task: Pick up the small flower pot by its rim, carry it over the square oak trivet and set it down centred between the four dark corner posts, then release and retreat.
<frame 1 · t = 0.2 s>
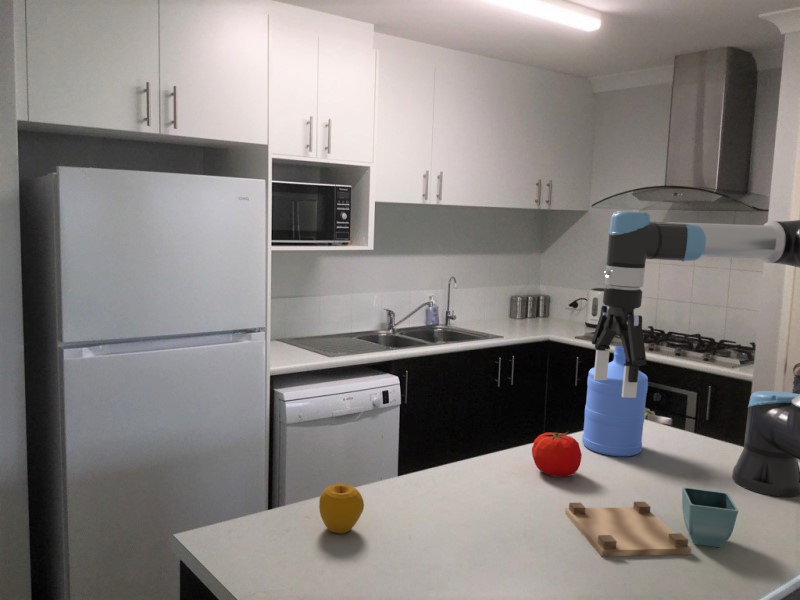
hand: (613, 388, 146), 27 cm above the kitchen island, fingers open, 13 cm apart
flower pot: (704, 541, 139), on the kitchen island
trivet: (624, 532, 141), on the kitchen island
apple: (340, 530, 136), on the kitchen island
tomato: (554, 474, 171), on the kitchen island
water jug: (611, 448, 192), on the kitchen island
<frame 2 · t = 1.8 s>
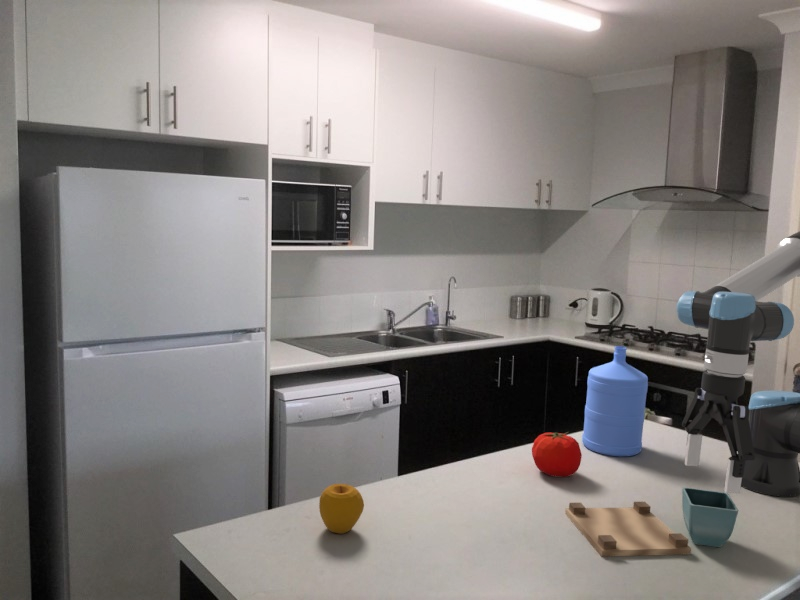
hand: (710, 478, 137), 13 cm above the kitchen island, fingers open, 13 cm apart
nothing on the kitchen island moved.
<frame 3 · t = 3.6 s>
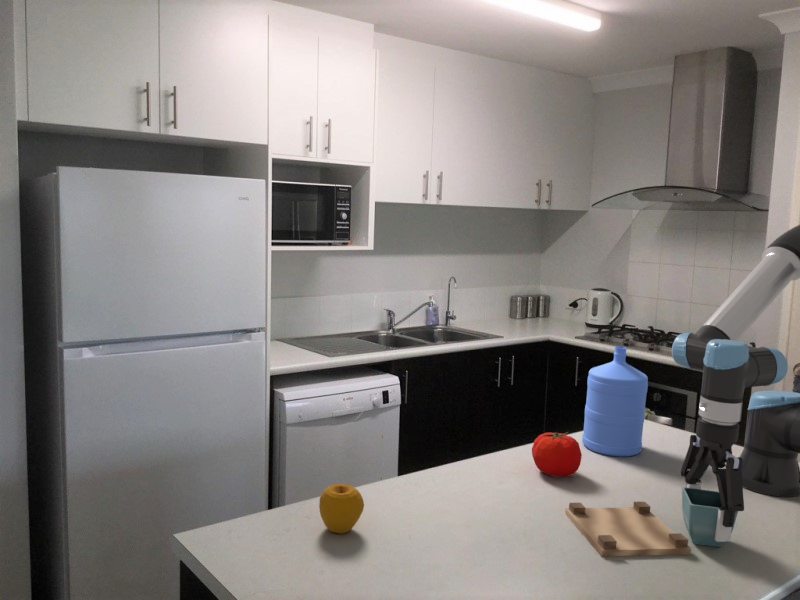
hand: (705, 527, 139), 3 cm above the kitchen island, fingers closed on flower pot, 10 cm apart
flower pot: (704, 541, 139), on the kitchen island, touching gripper
everything else where it was.
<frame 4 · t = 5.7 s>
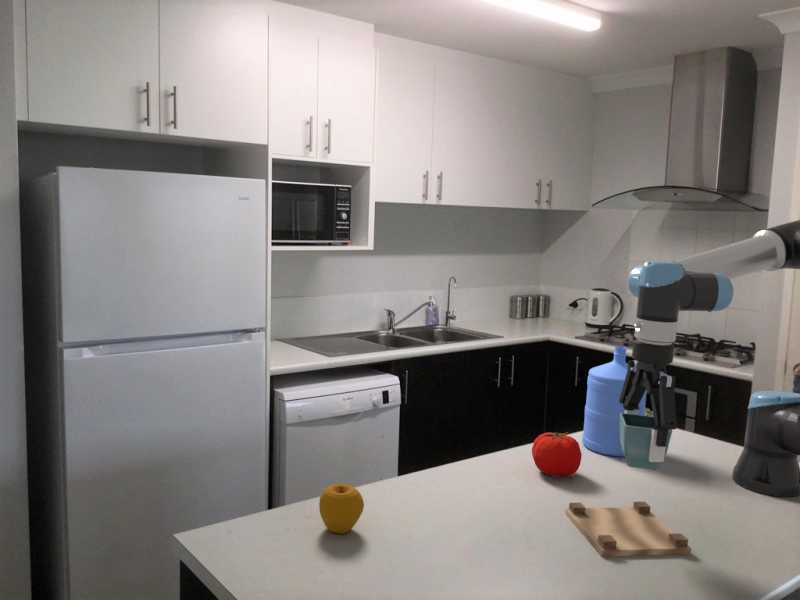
hand: (641, 451, 138), 17 cm above the kitchen island, fingers closed on flower pot, 10 cm apart
flower pot: (640, 465, 138), point 14 cm above the kitchen island, touching gripper
everything else where it was.
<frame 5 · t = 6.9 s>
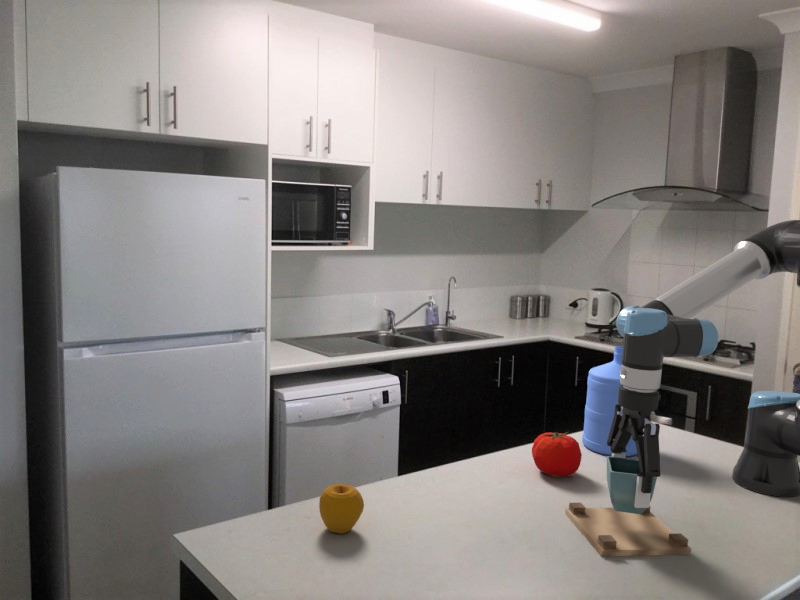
hand: (628, 495, 140), 8 cm above the kitchen island, fingers closed on flower pot, 10 cm apart
flower pot: (626, 509, 140), point 5 cm above the kitchen island, touching gripper
everything else where it was.
when the fingers open (5 cm above the kitchen island, at t = 8.1 s): flower pot stays where it is, resting on trivet.
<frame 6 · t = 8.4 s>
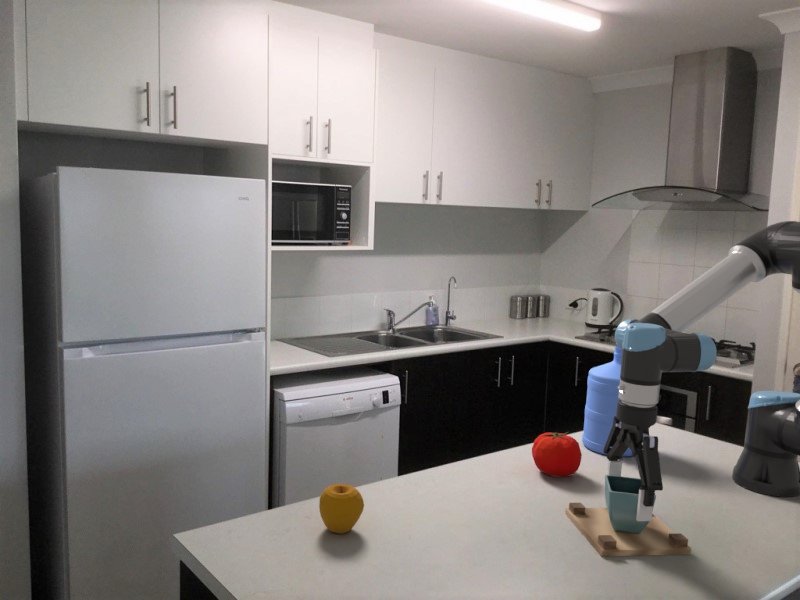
hand: (627, 505, 140), 6 cm above the kitchen island, fingers open, 13 cm apart
flower pot: (625, 528, 140), point 1 cm above the kitchen island, touching trivet
everything else where it was.
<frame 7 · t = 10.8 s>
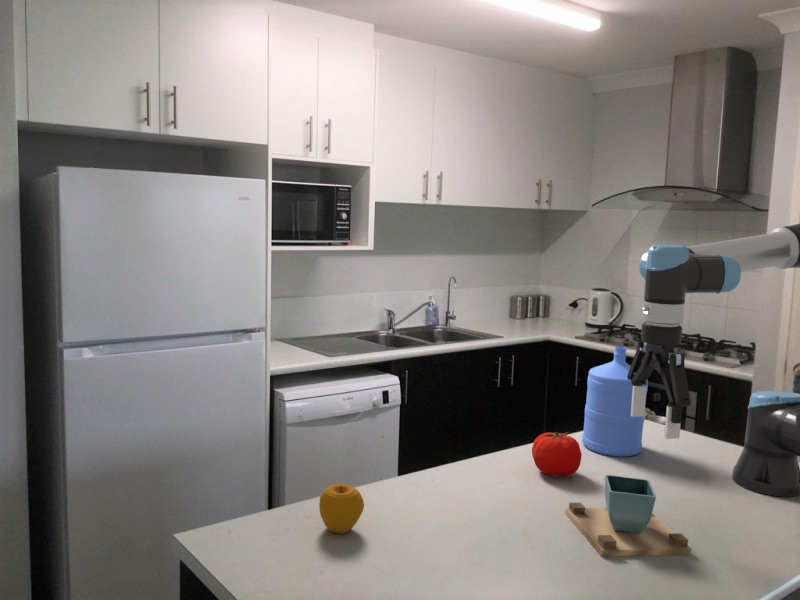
hand: (653, 426, 141), 21 cm above the kitchen island, fingers open, 13 cm apart
nothing on the kitchen island moved.
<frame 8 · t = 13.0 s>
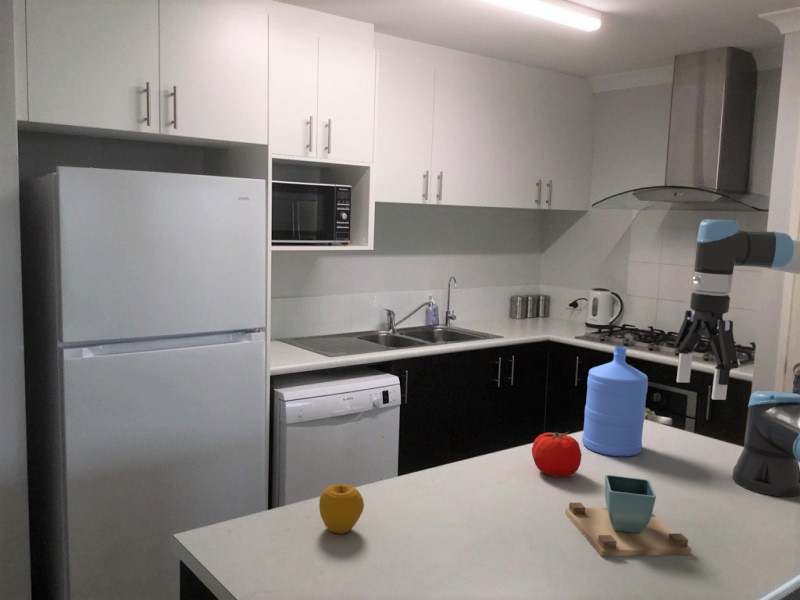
hand: (699, 390, 151), 27 cm above the kitchen island, fingers open, 13 cm apart
nothing on the kitchen island moved.
at the end: flower pot 0.1 cm off-centre on the trivet, point 1.0 cm above the trivet's base; flower pot tilted 0°; the gripper is holding nothing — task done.
